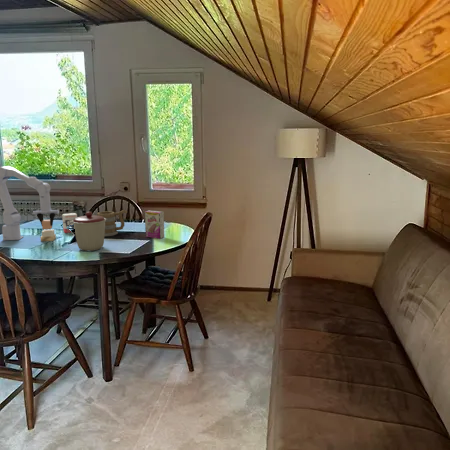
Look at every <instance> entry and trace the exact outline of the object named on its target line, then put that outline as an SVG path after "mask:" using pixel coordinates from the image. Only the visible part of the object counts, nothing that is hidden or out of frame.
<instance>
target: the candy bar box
mask: <svg viewBox="0 0 450 450" xmlns="http://www.w3.org/2000/svg"><path fill="white" fill-rule="evenodd" d="M144 223H145V224H144V226H145V230H144V231H145V238H150V239H157V240H158V239H159V240H162V239H164V238H165V213H164V211H158V210H146V211H144Z"/></svg>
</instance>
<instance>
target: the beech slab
mask: <svg viewBox="0 0 450 450" xmlns="http://www.w3.org/2000/svg"><path fill="white" fill-rule="evenodd" d="M56 237H57V235H56V233H55V234H54V236H50V237H42V235H41V236H40V242H54V241H55V239H56Z"/></svg>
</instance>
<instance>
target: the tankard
mask: <svg viewBox="0 0 450 450" xmlns="http://www.w3.org/2000/svg"><path fill="white" fill-rule="evenodd" d="M127 213H128V211H127V210H125V209H122V210H121V211H118V212H114V211H112V210H111V211H109V210H108V211H107V210H106V211H99V212H96V214H97V216H102V217H104V218H106V221H105V235H104V237H111V236H116V235H118V234H119V233H118V232H119V231H121V230H123V229H124V227H125V221H124V217H123V214H127ZM117 216H118V220H119V221H120V226H117V224H116V221H117Z"/></svg>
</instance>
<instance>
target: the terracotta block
mask: <svg viewBox="0 0 450 450" xmlns="http://www.w3.org/2000/svg"><path fill="white" fill-rule="evenodd" d="M41 228H42V229H41V230H52V228H53V225H52V226H51V224H50V219H43V221H42V225H41Z"/></svg>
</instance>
